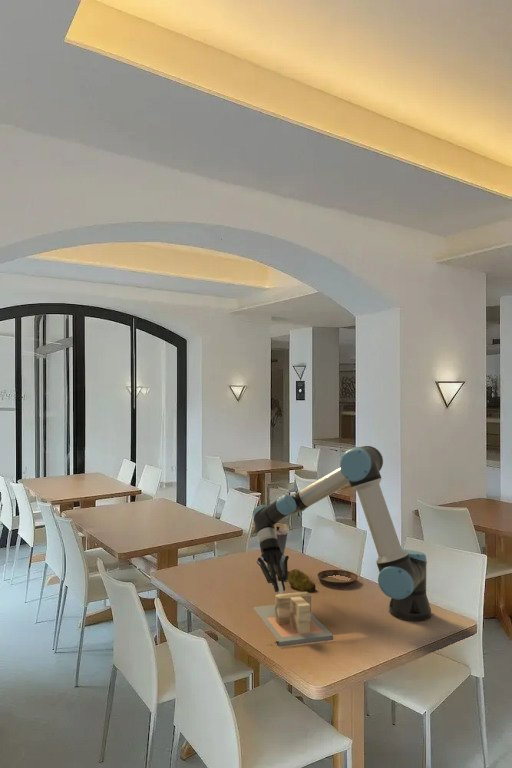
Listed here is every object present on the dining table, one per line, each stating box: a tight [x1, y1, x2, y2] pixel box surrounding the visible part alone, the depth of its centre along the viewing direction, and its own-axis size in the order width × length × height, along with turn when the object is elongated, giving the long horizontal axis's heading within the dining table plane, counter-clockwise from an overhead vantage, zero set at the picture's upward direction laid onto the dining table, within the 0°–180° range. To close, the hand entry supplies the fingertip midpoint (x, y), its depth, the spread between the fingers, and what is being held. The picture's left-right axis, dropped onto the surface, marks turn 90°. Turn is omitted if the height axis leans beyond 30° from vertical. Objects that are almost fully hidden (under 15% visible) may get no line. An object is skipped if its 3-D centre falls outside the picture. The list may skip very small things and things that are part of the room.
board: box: [252, 604, 334, 647], centre depth 188 cm, size 30×19×2 cm, turn 17°
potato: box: [287, 568, 317, 593], centre depth 222 cm, size 8×13×8 cm, turn 28°
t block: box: [274, 591, 312, 633], centre depth 184 cm, size 12×12×9 cm
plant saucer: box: [316, 569, 359, 588], centre depth 234 cm, size 18×18×3 cm
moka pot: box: [266, 526, 289, 573], centre depth 249 cm, size 10×15×20 cm, turn 148°
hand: (282, 599), depth 196 cm, fingers closed
